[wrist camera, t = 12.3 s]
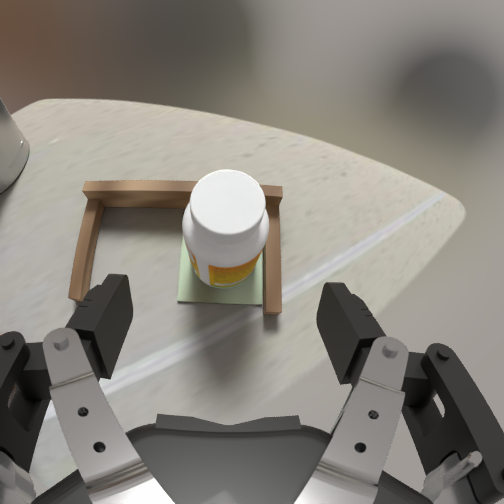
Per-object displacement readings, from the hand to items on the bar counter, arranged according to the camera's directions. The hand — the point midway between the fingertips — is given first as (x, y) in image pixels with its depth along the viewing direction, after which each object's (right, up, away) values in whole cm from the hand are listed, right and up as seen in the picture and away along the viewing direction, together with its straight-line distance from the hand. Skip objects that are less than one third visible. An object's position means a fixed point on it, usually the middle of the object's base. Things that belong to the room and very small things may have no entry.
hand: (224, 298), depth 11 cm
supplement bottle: (-1, +1, +13) cm, 13 cm away
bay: (-5, +2, +12) cm, 14 cm away
